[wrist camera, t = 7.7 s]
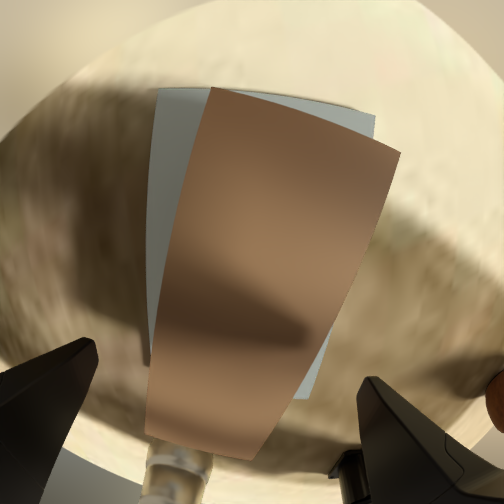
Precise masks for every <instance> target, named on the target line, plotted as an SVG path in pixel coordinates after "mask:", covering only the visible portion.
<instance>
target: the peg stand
mask: <svg viewBox="0 0 504 504" xmlns="http://www.w3.org/2000/svg"><path fill="white" fill-rule="evenodd" d="M210 90H211V89H196V88H159V89H158V95H157V102H156V109H155V116H154V124H153V133H152V142H151V152H150V164H149V177H148V193H147V216H146V287H147V310H148V326H149V339H150V351H152V343H153V336H154V328H155V322H156V315H157V308H158V302H159V296H160V290H161V284H162V279H163V273H164V268H165V262H166V257H167V252H168V247H169V242H170V238H171V233H172V228H173V224H174V219H175V215H176V210H177V206H178V202H179V198H180V194H181V190H182V186H183V182H184V178H185V174H186V170H187V166H188V163H189V159H190V155H191V152H192V148H193V145H194V141H195V138H196V134H197V131H198V128H199V124H200V121H201V118H202V115H203V111H204V108H205V105H206V102H207V99H208V96H209V93H210ZM229 91H233V92H237V93H241V94H245V95H249V96H253V97H257V98H260V99H264V100H267V101H271V102H274V103H278V104H281V105H284V106H287V107H290V108H294V109H297V110H300V111H303V112H306V113H308V114H311V115H314V116H317V117H320V118H322V119H325V120H328V121H330V122H333V123H336V124H338V125H341V126H343V127H346V128H348V129H351V130H353V131H355V132H358V133H360V134H363V135H365V136H367V137H369V138H372V139H373V134H374V125H375V115H372V114H368V113H364V112H360V111H356V110H352V109H348V108H344V107H339V106H335V105H330V104H326V103H321V102H315V101H310V100H305V99H299V98H293V97H286V96H279V95H272V94H264V93H255V92H245V91H234V90H229ZM333 324H334V323H333ZM332 327H333V325H332ZM332 327H331V329H330V331H329V333H328V335H327V337H326V339H325V341H324V343H323V345H322V347H321V349H320V351H319V353H318V354H317V356H316V358H315V360H314V362H313V364H312V365H311V367H310V369H309V371H308V373H307V374H306V376H305V378H304V380H303V381H302V383H301V385H300V387H299V388H298V390H297V392H296V393H295V395H294V397H293V398H292V399H308V398H309V395H310V393H311V390H312V387H313V385H314V382H315V379H316V376H317V373H318V370H319V368H320V365H321V362H322V359H323V356H324V353H325V350H326V347H327V343H328V340H329V337H330V334H331V331H332Z"/></svg>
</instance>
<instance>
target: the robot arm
mask: <svg viewBox="0 0 504 504" xmlns="http://www.w3.org/2000/svg"><path fill="white" fill-rule="evenodd" d="M98 361H99V359H98V354H97V349H96V345H95V342H94V340H92V339H89V338H86V337H82V338H80V339H77V340H75V341H73V342H70V343H68V344H66V345H64V346H61V347H59V348H57V349H54V350H52V351H50V352H48V353H45V354H43V355H41V356H38V357H36V358H34V359H31V360H29V361H27V362H25V363H22V364H20V365H18V366H15V367H13V368H11V369H8V370H6V371H5V372H1V373H0V504H39V502H40V499H41V497H42V494H43V492H44V488H45V486H46V483H47V481H48V478H49V476H50V474H51V471H52V468H53V466H54V464H55V461H56V459H57V457H58V455H59V452H60V450H61V448H62V446H63V443H64V441H65V439H66V437H67V435H68V433H69V430H70V428H71V426H72V424H73V422H74V420H75V418H76V416H77V414H78V412H79V410H80V408H81V406H82V404H83V401H84V399H85V397H86V394H87V392H88V389H89V386H90V384H91V381H92V379H93V376H94V373H95V371H96V368H97V366H98ZM356 400H357V410H358V421H359V432H360V439H361V445H362V450H356V451H347V452H345V453H344V454H343V455H342V457H341V458H340V459H339V461H338V462H337V463H336V465H335V466H334V468H333V469H332V470H331V472H330V473H329V474H328V478H329V479H335V478H339V482H340V488H341V494H342V500H343V504H504V470H503V469H500V468H497V467H495V466H494V465H492V464H491V463H489V462H487V461H486V460H484V459H483V458H481V457H479V456H478V455H476V454H474V453H473V452H471V451H470V450H469V449H467V448H466V447H464V446H463V445H462V444H460V443H459V442H458V441H456V440H455V439H454V438H452V437H451V436H450V435H449V434H447V433H445V431H444V430H442V429H441V428H440V427H439V426H437V425H436V424H435V423H434V422H432V421H431V420H430V419H429V418H428V417H426V416H425V415H424V414H423V413H421V412H420V411H419V410H418V409H417V408H415V407H414V406H413V405H412V404H410V403H409V402H408V401H407V400H406V399H404V398H403V397H402V396H401V395H400V394H398V393H397V392H396V391H395V390H393V389H392V388H391V387H390V386H389V385H387V384H386V383H385V382H384V381H383V380H381V379H380V378H379V377H377V376H367V377H366V378H365V379H364V380H363V383H362V385H361V387H360V389H359V391H358V393H357V397H356Z"/></svg>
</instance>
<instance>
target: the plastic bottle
mask: <svg viewBox="0 0 504 504" xmlns="http://www.w3.org/2000/svg"><path fill="white" fill-rule="evenodd" d="M212 469H213V454H212V453H209V452H205V451H201V450H197V449H193V448H189V447H185V446H182V445H178V444H175V443H171V442H168V441H165V440H162V439H159V438H156V437H155V438H154V439H153V441H152V443H151V444H150V446H149V448H148V453H147V459H146V472H145V477H144V482H143V487H142V492H141V496H140V499H139V502H138V504H201V501H202V498H203V494H204V490H205V486H206V484H207V483H208V480H209V478H210V475H211V472H212Z"/></svg>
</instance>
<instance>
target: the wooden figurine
mask: <svg viewBox="0 0 504 504" xmlns="http://www.w3.org/2000/svg"><path fill="white" fill-rule="evenodd" d="M485 397H486V407H487V411H488V414H489V416H490V419H491V420H492V422H493V424H494V425H495V427H496V428H497V429H498V430H499V431H500V432H502V433H504V371H502V372H501V373H499V374H498V375H497V376H496V377H495V378H494V379H493V380H492V381H491V383H490V384H489V386H488V388H487V390H486V393H485Z"/></svg>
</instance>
